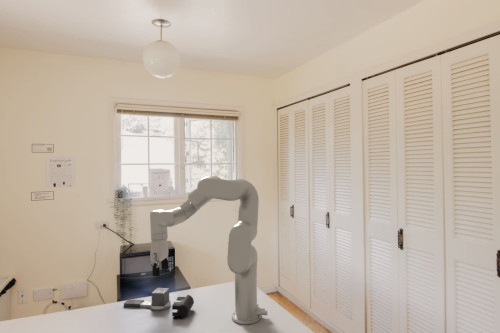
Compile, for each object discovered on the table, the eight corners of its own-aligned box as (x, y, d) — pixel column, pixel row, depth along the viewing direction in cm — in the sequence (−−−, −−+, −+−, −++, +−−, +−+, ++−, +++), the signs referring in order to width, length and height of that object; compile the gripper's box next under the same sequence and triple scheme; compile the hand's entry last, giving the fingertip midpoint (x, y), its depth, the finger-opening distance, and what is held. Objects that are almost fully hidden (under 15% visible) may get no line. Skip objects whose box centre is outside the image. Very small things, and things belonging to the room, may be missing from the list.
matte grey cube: (157, 300, 144) (157, 287, 144) (169, 300, 144) (169, 288, 144) (151, 305, 139) (151, 293, 139) (164, 306, 138) (163, 293, 138)
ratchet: (173, 302, 145) (173, 292, 145) (165, 311, 136) (165, 300, 136) (131, 300, 148) (130, 290, 148) (120, 309, 139) (120, 298, 139)
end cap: (188, 320, 128) (187, 304, 128) (172, 320, 129) (171, 304, 129) (194, 309, 138) (193, 294, 138) (179, 309, 139) (178, 294, 139)
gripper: (159, 232, 150) (161, 266, 150) (142, 240, 133) (144, 279, 133) (174, 231, 149) (175, 266, 149) (158, 240, 132) (160, 279, 132)
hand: (160, 272), depth 141 cm, fingers open, 9 cm apart
